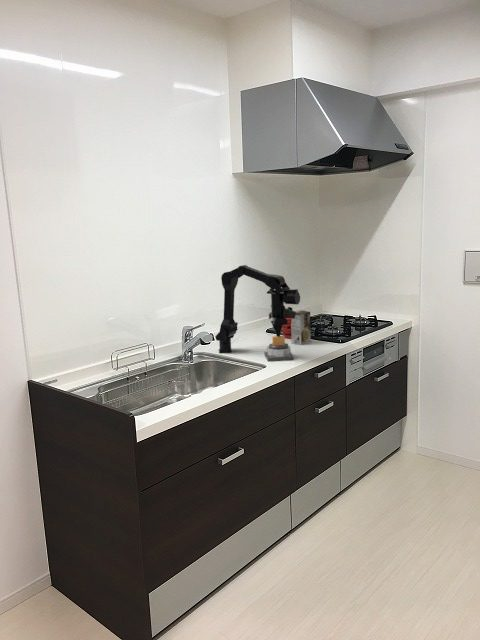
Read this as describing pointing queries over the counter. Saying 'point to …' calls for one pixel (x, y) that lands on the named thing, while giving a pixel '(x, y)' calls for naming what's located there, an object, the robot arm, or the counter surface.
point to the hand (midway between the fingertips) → (278, 336)
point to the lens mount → (278, 354)
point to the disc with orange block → (278, 343)
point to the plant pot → (287, 329)
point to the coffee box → (301, 328)
